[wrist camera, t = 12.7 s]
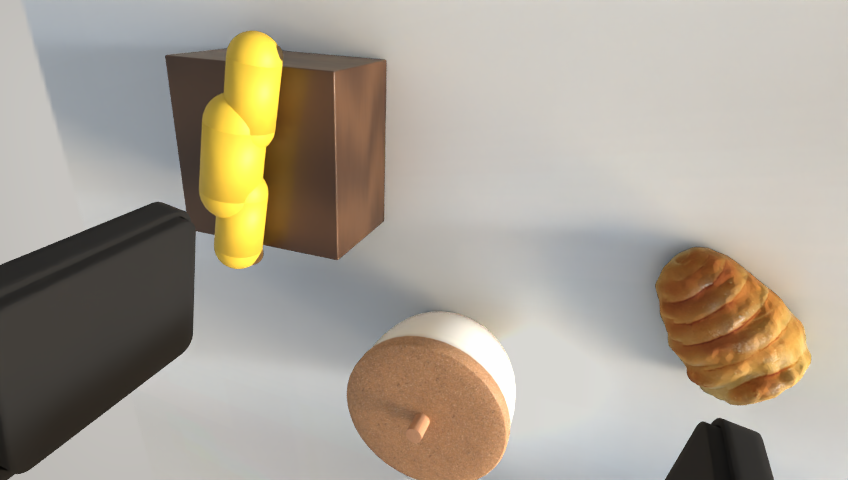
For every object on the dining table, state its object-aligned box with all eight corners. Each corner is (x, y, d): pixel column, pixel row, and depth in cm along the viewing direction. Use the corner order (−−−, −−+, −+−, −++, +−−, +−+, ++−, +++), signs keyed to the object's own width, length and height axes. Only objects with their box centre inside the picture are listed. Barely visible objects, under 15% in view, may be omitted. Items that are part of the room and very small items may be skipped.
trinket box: (498, 271, 38) (460, 344, 30) (550, 402, 40) (528, 502, 32) (369, 304, 43) (306, 374, 35) (423, 418, 45) (375, 509, 37)
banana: (215, 16, 29) (198, 25, 26) (291, 33, 30) (283, 44, 27) (203, 245, 36) (188, 274, 33) (266, 255, 36) (257, 283, 33)
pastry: (625, 274, 35) (624, 302, 32) (732, 220, 32) (743, 244, 28) (707, 388, 36) (714, 427, 33) (818, 347, 33) (839, 386, 29)
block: (239, 46, 38) (164, 54, 32) (387, 59, 35) (334, 71, 29) (252, 197, 43) (188, 229, 37) (384, 221, 40) (337, 260, 34)
